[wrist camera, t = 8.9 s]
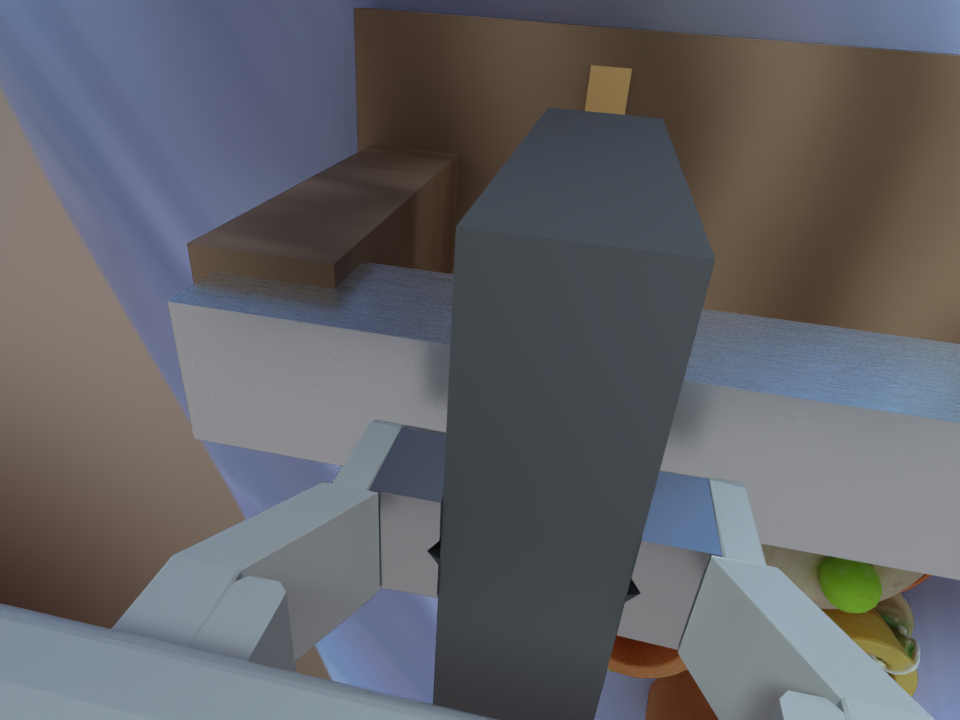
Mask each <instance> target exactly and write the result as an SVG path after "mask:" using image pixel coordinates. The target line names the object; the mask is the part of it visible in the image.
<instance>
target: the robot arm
mask: <svg viewBox="0 0 960 720" xmlns="http://www.w3.org/2000/svg"><path fill="white" fill-rule="evenodd" d="M445 446H446V432H441V431H436V430H430V429H425V428H420V427H415V426H410V425H403V424H398V423H393V422H387V421H381V420H376V419H375V420H373V421H372V422H370V423H369V424H368V425H367V427H366V429H365V430H364V432H363V434H362V435H361V437H360V438H359V440H358V442H357V443H356V445H355V447H354V448H353V450H352V451H351V453H350V455H349V456H348V458H347V459H346V461H345V463H344V464H343V466H342V468H341V469H340V471H339V472H338V474H337V476H336V477H335V479H334V481H333V482H332V484H330V483H325V482H322V483H320V484H318V485H315V486H313V487H311V488H309V489H307V490H305V491H303V492H301V493H299V494H297V495H295V496H293V497H291V498H289V499H287V500H285V501H283V502H281V503H279V504H277V505H275V506H273V507H271V508H269V509H267V510H265V511H263V512H261V513H259V514H256V515H254V516H252V517H250V518H248V519H246V520H244V521H243V522H240V523H238V524H236V525H234V526H232V527H230V528H228V529H226V530H224V531H222V532H220V533H218V534H216V535H214V536H212V537H210V538H208V539H206V540H204V541H202V542H200V543H198V544H196V545H193V546H191V547H189V548H187V549H185V550H183V551H181V552H179V553H177V554H175V555H173V556H172V557H171V558H170V559H169V560H168V562H167V563H166V564H165V565H164V566H163V568H162V569H161V570H160V571H159V572H158V574H157V575H156V576H155V577H154V579H153V580H152V581H151V582H150V584H149V585H148V586H147V587H146V589H144V591H143V592H142V593H141V594H140V595H139V597H138V598H137V599H136V600H135V601H134V603H133V604H132V605H131V606H130V607H129V609H128V610H127V611H126V612H125V613H124V615H123V616H122V617H121V618H120V620H119V621H118V622H117V623H116V624H115V626H114V627H113V628H112V629H107V628H103V627H99V626H94V625H90V624H86V623H82V622H77V621H73V620H69V619H65V618H60V617H56V616H51V615H47V614H43V613H39V612H34V611H30V610H26V609H22V608H17V607H13V606H9V605H4V604H0V720H498V719H493V718H489V717H485V716H480V715H476V714H472V713H468V712H463V711H459V710H455V709H451V708H446V707H442V706H438V705H433V704H429V703H425V702H421V701H416V700H412V699H408V698H403V697H399V696H395V695H391V694H386V693H382V692H378V691H373V690H369V689H365V688H361V687H356V686H352V685H348V684H343V683H339V682H335V681H331V680H326V679H321V678H318V677H313V676H309V675H305V674H301V673H296V668H295V661H296V660H297V659H298V658H299V657H301V656H302V655H303V654H304V653H306V652H307V651H308V650H309V649H310V648H312V647H313V646H314V645H315V644H316V643H318V642H319V641H320V640H321V639H322V638H324V637H325V636H326V635H327V634H328V633H330V632H331V631H332V630H333V629H335V628H336V627H337V626H338V625H339V624H341V623H342V622H343V621H344V620H345V619H347V618H348V617H349V616H350V615H351V614H353V613H354V612H355V611H356V610H357V609H359V608H360V607H361V606H362V605H364V604H365V603H366V602H367V601H368V600H370V599H371V598H372V597H373V596H374V595H376V594H377V593H378V592H379V591H380V588H386V589H391V590H397V591H403V592H408V593H414V594H419V595H425V596H430V597H436V598H437V595H438V591H439V572H440V550H441V533H442V508H443V488H444V467H445ZM617 636H622V637H626V638H630V639H634V640H638V641H643V642H647V643H651V644H655V645H660V646H664V647H668V648H672V649H676V650H679V651H678V654H679V656H680V657H681V659H682V661H683V662H684V664H685V665H686V667H687V669H688V670H689V672H690V674H691V675H692V677H693V678H694V680H695V682H696V683H697V685H698V687H699V688H700V690H701V691H702V693H703V695H704V696H705V698H706V700H707V701H708V703H709V705H710V706H711V708H712V709H713V711H714V713H715V714H716V716H717V718H718V719H719V720H934V718H933V717H932V716H931V715H930V714H929V713H928V712H926V711H925V710H924V709H923V708H922V707H921V706H920V705H919V704H918V703H917V702H916V701H915V700H914V699H913V698H912V697H911V696H910V695H909V694H908V693H907V692H906V691H905V690H904V689H903V688H902V687H901V686H900V685H899V684H898V683H896V682H895V681H894V680H893V679H892V678H891V677H890V676H889V675H888V674H887V673H886V672H885V671H884V670H883V669H882V668H881V667H880V666H879V665H878V664H877V663H876V662H875V661H874V660H873V659H872V658H871V657H870V656H869V655H868V654H866V653H865V652H864V651H863V650H862V649H861V648H860V647H859V646H858V645H857V644H856V643H855V642H854V641H853V640H852V639H851V638H850V637H849V636H848V635H847V634H846V633H845V632H844V631H843V630H842V629H841V628H840V627H839V626H838V625H836V624H835V623H834V622H833V621H832V620H831V619H830V618H829V617H828V616H827V615H826V614H825V613H824V612H823V611H822V610H821V609H820V608H819V607H818V606H817V605H816V604H815V603H814V602H813V601H812V600H811V599H810V598H809V597H808V596H806V595H805V594H804V593H803V592H802V591H801V590H800V589H799V588H798V587H797V586H796V585H795V584H794V583H793V582H792V581H791V580H790V579H789V578H788V577H787V576H786V575H785V574H784V573H783V572H782V571H781V570H780V569H779V568H776V567H771V566H767V565H766V561H765V557H764V554H763V550H762V546H761V542H760V539H759V535H758V531H757V527H756V524H755V520H754V516H753V513H752V509H751V505H750V501H749V498H748V494H747V490H746V486H745V485H744V484H743V483H742V482H739V481H732V480H725V479H718V478H711V477H705V478H703V477H697V476H691V475H685V474H679V473H673V472H667V471H661V470H660V471H659V475H658V479H657V483H656V486H655V490H654V494H653V498H652V501H651V505H650V509H649V513H648V517H647V520H646V524H645V528H644V532H643V535H641V538H640V542H639V546H638V549H637V553H636V557H635V560H634V564H633V568H632V571H631V581H630V585H629V588H628V592H627V595H626V596H625V598H624V602H623V606H622V610H621V614H620V618H619V622H618V626H617Z"/></svg>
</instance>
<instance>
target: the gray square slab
mask: <svg viewBox="0 0 960 720" xmlns="http://www.w3.org/2000/svg"><path fill="white" fill-rule="evenodd" d="M714 263H715V257H714V254H713V251H712V249H711V246H710V243H709V241H708V238H707V235H706V233H705V230H704V227H703V224H702V222H701V219H700V216H699V214H698V211H697V208H696V206H695V203H694V200H693V198H692V195H691V192H690V190H689V187H688V184H687V182H686V179H685V176H684V173H683V171H682V168H681V165H680V163H679V160H678V157H677V155H676V152H675V149H674V147H673V144H672V141H671V139H670V136H669V133H668V131H667V128H666V125H665V122H664V120H663V119H662V118H651V117H641V116H631V115H621V114H611V113H601V112H590V111H580V110H570V109H560V108H550V107H548V108H547V110H546V111H545V112H544V113H543V115H542V116H541V117H540V119H539V120H538V121H537V122H536V124H535V125H534V126H533V128H532V129H531V130H530V132H529V133H528V134H527V135H526V137H525V138H524V139H523V141H522V142H521V143H520V144H519V146H518V147H517V148H516V150H515V151H514V152H513V154H512V155H511V156H510V157H509V159H508V160H507V161H506V163H505V164H504V165H503V166H502V168H501V169H500V170H499V172H498V173H497V174H496V176H495V177H494V178H493V179H492V181H491V182H490V183H489V185H488V186H487V187H486V189H485V190H484V191H483V192H482V194H481V195H480V196H479V198H478V199H477V200H476V201H475V203H474V204H473V205H472V207H471V208H470V209H469V211H468V212H467V213H466V214H465V216H464V217H463V218H462V220H461V221H460V222H459V223H458V225H457V226H456V239H455V260H454V281H453V301H452V322H451V343H450V363H449V384H448V405H447V426H446V446H445V467H444V488H443V508H442V533H441V550H440V572H439V591H438V612H437V633H436V653H435V674H434V695H433V705H438V706H442V707H446V708H451V709H455V710H459V711H463V712H468V713H472V714H476V715H480V716H485V717H489V718H493V719H498V720H594V717H595V713H596V709H597V706H598V702H599V698H600V694H601V690H602V687H603V683H604V679H605V675H606V672H607V668H608V664H609V660H610V656H611V653H612V649H613V645H614V641H615V638H616V634H617V626H618V622H619V618H620V614H621V610H622V606H623V602H624V598H625V596H626V595H627V592H628V588H629V585H630V581H631V571H632V568H633V564H634V560H635V557H636V553H637V549H638V546H639V542H640V538H641V535H643V532H644V528H645V524H646V520H647V517H648V513H649V509H650V505H651V501H652V498H653V494H654V490H655V486H656V483H657V479H658V475H659V471H660V467H661V464H662V460H663V456H664V452H665V449H666V445H667V441H668V437H669V433H670V430H671V426H672V422H673V418H674V414H675V411H676V407H677V403H678V399H679V396H680V392H681V388H682V384H683V380H684V377H685V373H686V369H687V365H688V362H689V358H690V354H691V350H692V346H693V343H694V339H695V335H696V331H697V328H698V324H699V320H700V316H701V312H702V309H703V305H704V301H705V297H706V293H707V290H708V286H709V282H710V278H711V275H712V271H713V267H714Z"/></svg>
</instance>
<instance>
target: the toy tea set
mask: <svg viewBox="0 0 960 720" xmlns="http://www.w3.org/2000/svg"><path fill="white" fill-rule="evenodd" d="M761 546H762V550H763V554H764V557H765V561H766V565H767V566H771V567H776V568H779V569H780V570H781V571H782V572H783V573H784V574H785V575H786V576H787V577H788V578H789V579H790V580H791V581H792V582H793V583H794V584H795V585H796V586H797V587H798V588H799V589H800V590H801V591H802V592H803V593H804V594H805V595H806V596H808V597H809V598H810V599H811V600H812V601H813V602H814V603H815V604H816V605H817V606H818V607H819V608H820V609H821V610H822V611H823V612H824V613H825V614H826V615H827V616H828V617H829V618H830V619H831V620H832V621H833V622H834V623H835V624H836V625H838V626H839V627H840V628H841V629H842V630H843V631H844V632H845V633H846V634H847V635H848V636H849V637H850V638H851V639H852V640H853V641H854V642H855V643H856V644H857V645H858V646H859V647H860V648H861V649H862V650H863V651H864V652H865V653H866V654H868V655H869V656H870V657H871V658H872V659H873V660H874V661H875V662H876V663H877V664H878V665H879V666H880V667H881V668H882V669H883V670H884V671H885V672H886V673H887V674H888V675H889V676H890V677H891V678H892V679H893V680H894V681H895V682H896V683H898V684H899V685H900V686H901V687H902V688H903V689H904V690H905V691H906V692H907V693H908V694H909V695H910V696H911V697H912V696H913V694H914V692H915V690H916V688H917V684H918V674H917V671H916V669H917V667H918V665H919V662H920V646H919V644H918V642H917V641H916V640H915V639H913V638H911V636H912V632H913V628H914V619H913V614H912V611H911V608H910V606H909V604H908V602H907V601H906V599H905V598H904V596H903V595H902V592H904V591H906V590H909V589H911V588H913V587H914V586H916V585H918V584H920V583H921V582H923V581H924V580H926V579H927V578H928V577H930V576H931V575H929V574H923V573H918V572H913V571H907V570H902V569H896V568H891V567H886V566H880V565H875V564H869V563H864V562H859V561H853V560H848V559H842V558H837V557H832V556H826V555H821V554H815V553H810V552H804V551H799V550H794V549H788V548H783V547H777V546H772V545H767V544H761ZM912 643H913V644H912ZM678 651H679V650H676V649H672V648H668V647H664V646H660V645H655V644H651V643H647V642H643V641H638V640H634V639H630V638H626V637H622V636H617V634H616V638H615V641H614V645H613V649H612V653H611V656H610V660H609V664H608V668H607V669H608V670H610V671H613V672H618V673H621V674H624V675H628V676H631V677H635V678H658V679H656V680H655V681H654V682H653V684H652V685H651V687H650V689H649V696H648V703H647V710H646V717H645V720H719V719H718V718H717V716H716V714H715V713H714V711H713V709H712V708H711V706H710V705H709V703H708V701H707V700H706V698H705V696H704V695H703V693H702V691H701V690H700V688H699V687H698V685H697V683H696V682H695V680H694V678H693V677H692V675H691V674H690V672H689V670H687V667H686V665H685V664H684V662H683V661H682V659H681V657H680V656H679V654H678Z"/></svg>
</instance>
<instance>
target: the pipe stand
mask: <svg viewBox="0 0 960 720" xmlns="http://www.w3.org/2000/svg"><path fill="white" fill-rule="evenodd" d="M354 28H355V62H356V97H357V131H358V153H356V154H354V155H352V156H350V157H348V158H346V159H345V160H343V161H341V162H339V163H337V164H335V165H333V166H332V167H330V168H328V169H326V170H324V171H322V172H320V173H318V174H317V175H315V176H313V177H311V178H309V179H307V180H305V181H303V182H302V183H300V184H298V185H296V186H294V187H292V188H290V189H288V190H287V191H285V192H283V193H281V194H279V195H277V196H275V197H274V198H272V199H270V200H268V201H266V202H264V203H262V204H260V205H259V206H257V207H255V208H253V209H251V210H249V211H247V212H245V213H244V214H242V215H240V216H238V217H236V218H234V219H232V220H231V221H229V222H227V223H225V224H223V225H221V226H219V227H217V228H216V229H214V230H212V231H210V232H208V233H206V234H204V235H202V236H201V237H199V238H197V239H195V240H193V241H191V242H189V243H188V244H187V246H188V252H189V258H190V264H191V270H192V275H193V281H194V285H192V286H191V287H189V288H188V289H186V290H185V291H183V292H181V293H180V294H178V295H177V296H175V297H174V298H172V299H170V300H169V301H167V303H168V308H169V313H170V318H171V323H172V328H173V333H174V338H175V344H176V349H177V354H178V359H179V364H180V369H181V374H182V379H183V384H184V389H185V394H186V399H187V405H188V410H189V415H190V420H191V425H192V430H193V435H194V439H199V440H204V441H209V442H215V443H220V444H226V445H231V446H236V447H242V448H247V449H253V450H258V451H264V452H269V453H274V454H280V455H285V456H291V457H296V458H301V459H307V460H312V461H318V462H323V463H328V464H334V465H339V466H343V464H344V463H345V461H346V459H347V458H348V456H349V455H350V453H351V451H352V450H353V448H354V447H355V445H356V443H357V442H358V440H359V438H360V437H361V435H362V434H363V432H364V430H365V429H366V427H367V425H368V424H369V423H370V422H372V421H373V420H375V419H376V420H381V421H387V422H393V423H398V424H403V425H410V426H415V427H420V428H425V429H430V430H436V431H441V432H446V426H447V405H448V384H449V363H450V343H451V322H452V301H453V281H454V260H455V239H456V226H457V225H458V223H459V222H460V221H461V220H462V218H463V217H464V216H465V214H466V213H467V212H468V211H469V209H470V208H471V207H472V205H473V204H474V203H475V201H476V200H477V199H478V198H479V196H480V195H481V194H482V192H483V191H484V190H485V189H486V187H487V186H488V185H489V183H490V182H491V181H492V179H493V178H494V177H495V176H496V174H497V173H498V172H499V170H500V169H501V168H502V166H503V165H504V164H505V163H506V161H507V160H508V159H509V157H510V156H511V155H512V154H513V152H514V151H515V150H516V148H517V147H518V146H519V144H520V143H521V142H522V141H523V139H524V138H525V137H526V135H527V134H528V133H529V132H530V130H531V129H532V128H533V126H534V125H535V124H536V122H537V121H538V120H539V119H540V117H541V116H542V115H543V113H544V112H545V111H546V110H547V108H548V107H550V108H560V109H570V110H580V111H590V112H601V113H611V114H621V115H631V116H641V117H651V118H662V119H663V120H664V122H665V125H666V128H667V131H668V133H669V136H670V139H671V141H672V144H673V147H674V149H675V152H676V155H677V157H678V160H679V163H680V165H681V168H682V171H683V173H684V176H685V179H686V182H687V184H688V187H689V190H690V192H691V195H692V198H693V200H694V203H695V206H696V208H697V211H698V214H699V216H700V219H701V222H702V224H703V227H704V230H705V233H706V235H707V238H708V241H709V243H710V246H711V249H712V251H713V254H714V257H715V263H714V267H713V271H712V275H711V278H710V282H709V286H708V290H707V293H706V297H705V301H704V305H703V309H702V312H701V316H700V320H699V324H698V328H697V331H696V335H695V339H694V343H693V346H692V350H691V354H690V358H689V362H688V365H687V369H686V373H685V377H684V380H683V384H682V388H681V392H680V396H679V399H678V403H677V407H676V411H675V414H674V418H673V422H672V426H671V430H670V433H669V437H668V441H667V445H666V449H665V452H664V456H663V460H662V464H661V467H660V470H661V471H667V472H673V473H679V474H685V475H691V476H697V477H703V478H705V477H711V478H718V479H725V480H732V481H739V482H742V483H743V484H744V485H745V486H746V490H747V494H748V498H749V501H750V505H751V509H752V513H753V516H754V520H755V524H756V527H757V531H758V535H759V539H760V542H761V544H767V545H772V546H777V547H783V548H788V549H794V550H799V551H804V552H810V553H815V554H821V555H826V556H832V557H837V558H842V559H848V560H853V561H859V562H864V563H869V564H875V565H880V566H886V567H891V568H896V569H902V570H907V571H913V572H918V573H923V574H929V575H934V576H940V577H945V578H951V579H956V580H960V55H955V54H943V53H930V52H918V51H905V50H892V49H880V48H867V47H855V46H842V45H829V44H817V43H804V42H792V41H779V40H767V39H754V38H741V37H729V36H716V35H704V34H691V33H678V32H666V31H653V30H641V29H628V28H616V27H603V26H590V25H578V24H565V23H553V22H540V21H527V20H515V19H502V18H490V17H477V16H465V15H452V14H439V13H427V12H414V11H402V10H389V9H376V8H354Z"/></svg>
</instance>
